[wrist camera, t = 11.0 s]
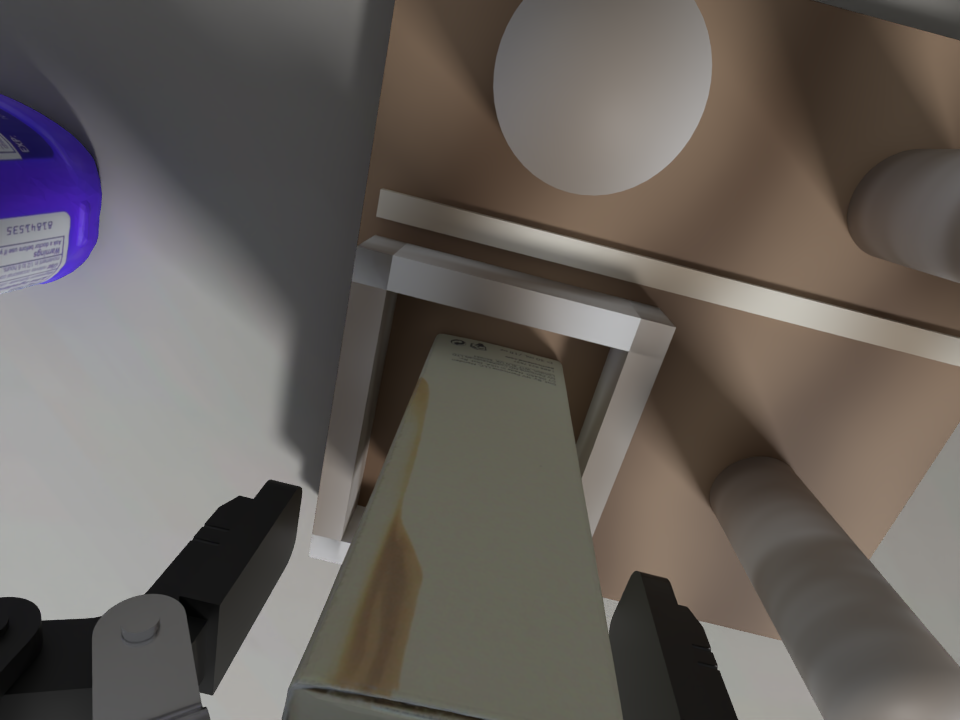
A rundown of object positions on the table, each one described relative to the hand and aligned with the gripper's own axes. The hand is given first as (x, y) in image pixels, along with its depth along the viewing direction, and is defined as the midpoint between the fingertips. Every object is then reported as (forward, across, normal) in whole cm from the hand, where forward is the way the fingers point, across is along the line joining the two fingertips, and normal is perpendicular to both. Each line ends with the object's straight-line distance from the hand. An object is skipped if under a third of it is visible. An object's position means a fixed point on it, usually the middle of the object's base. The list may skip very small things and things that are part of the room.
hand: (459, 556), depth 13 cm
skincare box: (+7, 0, 0) cm, 7 cm away
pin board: (+8, -5, -4) cm, 10 cm away
